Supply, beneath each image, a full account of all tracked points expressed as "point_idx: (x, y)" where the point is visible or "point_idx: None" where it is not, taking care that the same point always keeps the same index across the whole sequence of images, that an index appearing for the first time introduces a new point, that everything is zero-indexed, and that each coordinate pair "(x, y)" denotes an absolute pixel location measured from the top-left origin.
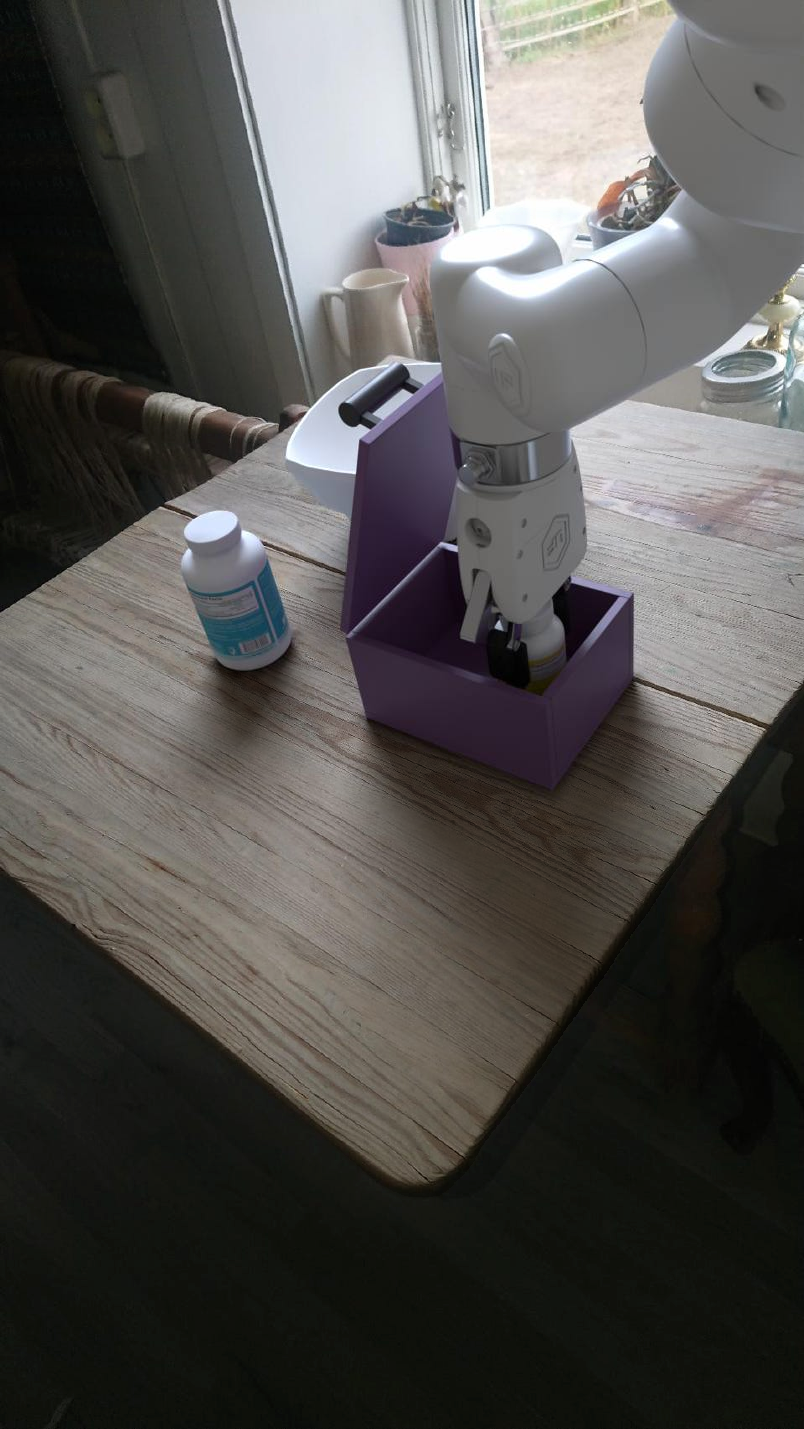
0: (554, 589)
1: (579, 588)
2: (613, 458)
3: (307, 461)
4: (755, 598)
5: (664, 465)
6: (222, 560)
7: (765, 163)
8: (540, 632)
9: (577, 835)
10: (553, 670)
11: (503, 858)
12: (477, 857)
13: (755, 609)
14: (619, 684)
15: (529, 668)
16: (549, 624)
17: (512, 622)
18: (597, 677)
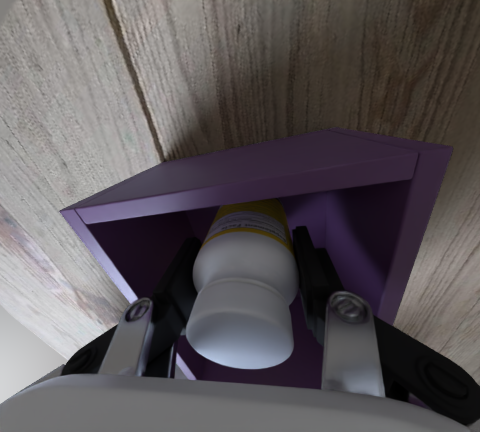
0: (215, 429)
1: (129, 275)
2: (40, 299)
3: None
4: (2, 133)
5: (10, 275)
6: None
7: None
8: (254, 277)
9: (393, 47)
10: (255, 215)
11: (460, 102)
12: (465, 129)
13: (9, 123)
14: (183, 160)
15: (287, 241)
16: (234, 278)
17: (384, 392)
18: (217, 164)
